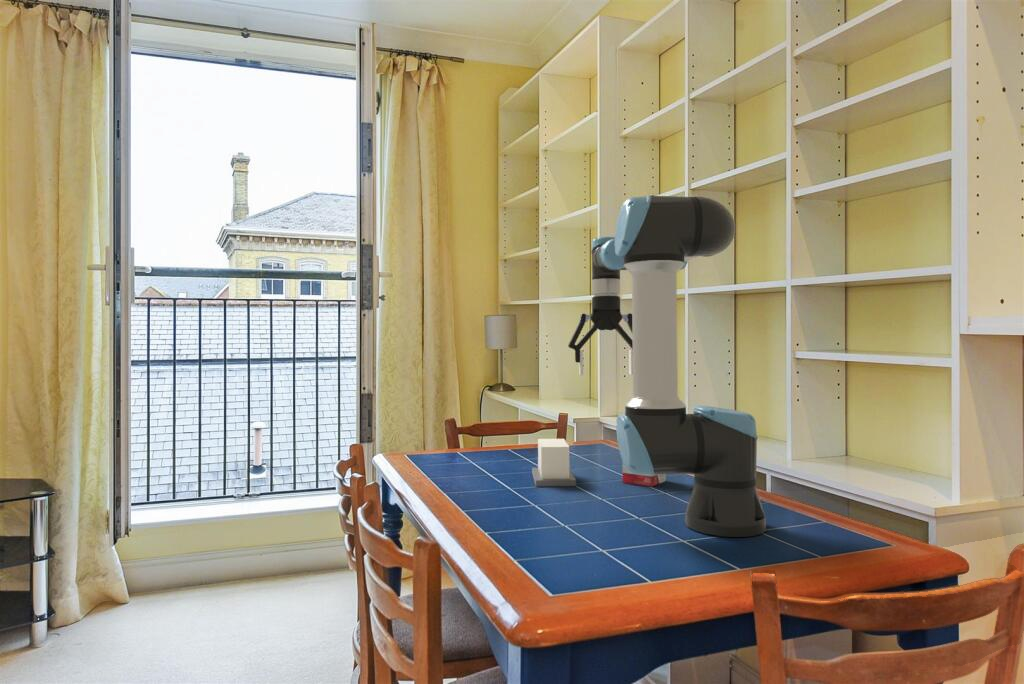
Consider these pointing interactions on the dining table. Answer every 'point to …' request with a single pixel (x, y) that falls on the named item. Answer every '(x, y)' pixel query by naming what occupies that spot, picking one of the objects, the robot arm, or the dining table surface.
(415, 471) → the dining table surface
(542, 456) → the block
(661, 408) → the robot arm
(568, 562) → the dining table surface
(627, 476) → the ink box
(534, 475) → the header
